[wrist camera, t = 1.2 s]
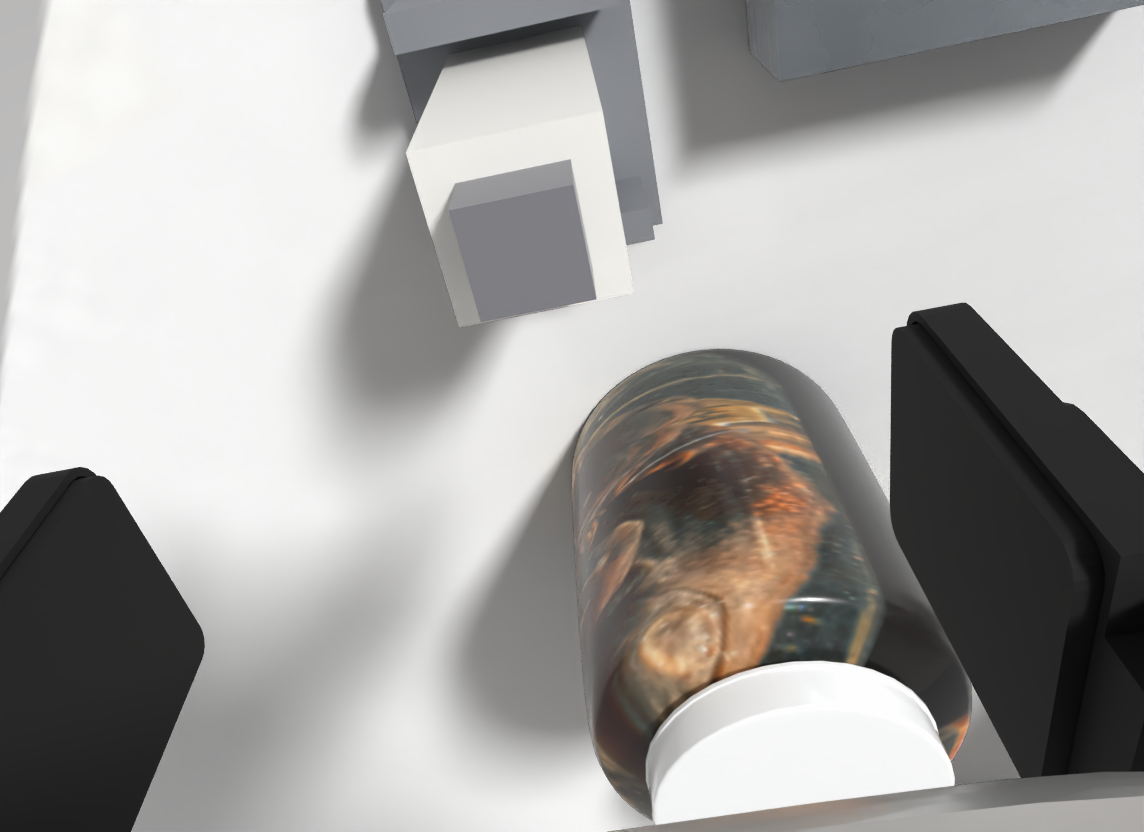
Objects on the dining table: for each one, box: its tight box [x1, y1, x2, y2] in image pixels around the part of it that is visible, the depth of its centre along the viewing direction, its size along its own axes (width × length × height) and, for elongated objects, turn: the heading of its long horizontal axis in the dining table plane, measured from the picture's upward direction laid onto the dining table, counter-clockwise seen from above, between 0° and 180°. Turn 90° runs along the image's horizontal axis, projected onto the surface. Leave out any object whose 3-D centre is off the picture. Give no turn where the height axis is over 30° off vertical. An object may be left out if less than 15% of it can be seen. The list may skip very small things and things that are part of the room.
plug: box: [406, 26, 634, 328], centre depth 22 cm, size 4×4×12 cm
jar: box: [572, 349, 972, 825], centre depth 29 cm, size 12×12×15 cm
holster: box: [381, 0, 663, 245], centre depth 26 cm, size 9×7×4 cm
